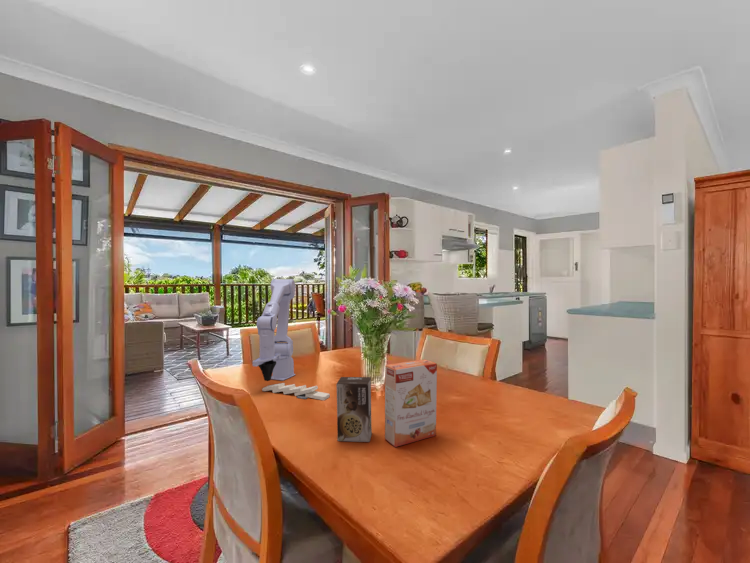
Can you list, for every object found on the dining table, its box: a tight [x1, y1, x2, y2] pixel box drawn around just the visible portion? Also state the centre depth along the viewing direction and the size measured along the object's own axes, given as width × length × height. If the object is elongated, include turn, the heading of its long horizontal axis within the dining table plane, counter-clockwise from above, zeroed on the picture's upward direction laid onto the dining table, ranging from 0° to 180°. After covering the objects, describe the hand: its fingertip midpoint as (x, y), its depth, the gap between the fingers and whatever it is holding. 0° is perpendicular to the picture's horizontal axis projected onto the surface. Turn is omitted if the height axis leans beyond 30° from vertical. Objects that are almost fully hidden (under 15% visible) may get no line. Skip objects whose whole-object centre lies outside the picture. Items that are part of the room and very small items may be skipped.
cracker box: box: [384, 358, 438, 448], centre depth 98 cm, size 14×6×21 cm, turn 120°
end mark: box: [295, 394, 309, 400], centre depth 133 cm, size 7×4×1 cm, turn 158°
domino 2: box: [271, 383, 297, 394], centre depth 136 cm, size 4×1×8 cm
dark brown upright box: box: [335, 376, 373, 443], centre depth 99 cm, size 9×6×16 cm
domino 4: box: [293, 385, 319, 397], centre depth 133 cm, size 4×1×8 cm
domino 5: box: [305, 390, 330, 401], centre depth 131 cm, size 4×1×8 cm
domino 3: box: [282, 384, 307, 395], centre depth 135 cm, size 4×1×8 cm
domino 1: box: [261, 382, 286, 392], centre depth 138 cm, size 4×1×8 cm
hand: (267, 380), depth 139 cm, fingers closed
